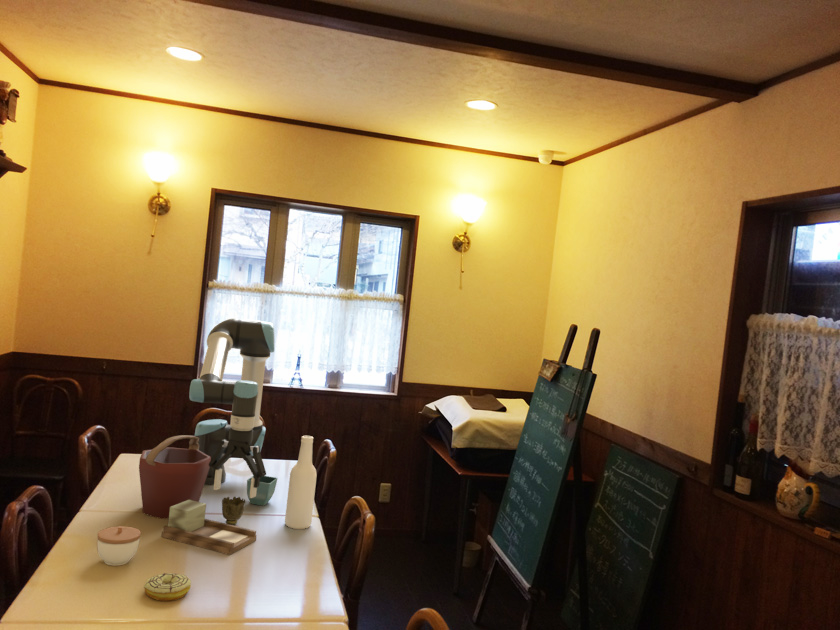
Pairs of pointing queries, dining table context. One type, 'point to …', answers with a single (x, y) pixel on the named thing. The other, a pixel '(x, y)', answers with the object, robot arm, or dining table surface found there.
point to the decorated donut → (167, 586)
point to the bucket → (172, 475)
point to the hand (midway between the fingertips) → (234, 493)
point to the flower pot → (262, 490)
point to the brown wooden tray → (204, 529)
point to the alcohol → (301, 488)
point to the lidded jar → (118, 544)
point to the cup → (232, 509)
